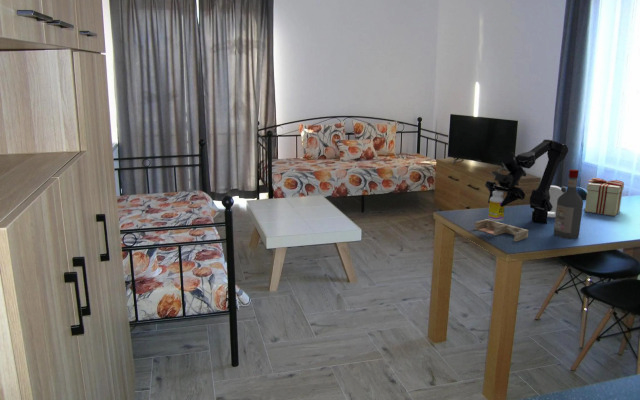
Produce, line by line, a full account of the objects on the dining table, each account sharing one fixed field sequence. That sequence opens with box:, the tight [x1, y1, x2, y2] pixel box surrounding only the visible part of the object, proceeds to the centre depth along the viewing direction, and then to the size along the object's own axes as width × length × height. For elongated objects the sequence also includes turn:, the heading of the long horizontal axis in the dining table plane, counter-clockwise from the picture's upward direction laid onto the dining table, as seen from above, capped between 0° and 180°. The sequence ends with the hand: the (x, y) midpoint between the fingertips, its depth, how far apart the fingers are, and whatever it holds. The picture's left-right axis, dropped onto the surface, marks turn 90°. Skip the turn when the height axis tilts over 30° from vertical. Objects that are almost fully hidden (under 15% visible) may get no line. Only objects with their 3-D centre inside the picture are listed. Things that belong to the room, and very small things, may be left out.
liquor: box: [553, 169, 584, 240], centre depth 236 cm, size 9×9×30 cm
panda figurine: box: [547, 185, 567, 218], centre depth 272 cm, size 12×11×15 cm
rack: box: [474, 218, 529, 242], centre depth 242 cm, size 22×9×4 cm, turn 37°
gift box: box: [584, 177, 625, 217], centre depth 280 cm, size 17×18×17 cm
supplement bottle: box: [487, 191, 506, 222], centre depth 241 cm, size 7×7×13 cm
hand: (494, 204), depth 240 cm, fingers closed on supplement bottle, 7 cm apart
